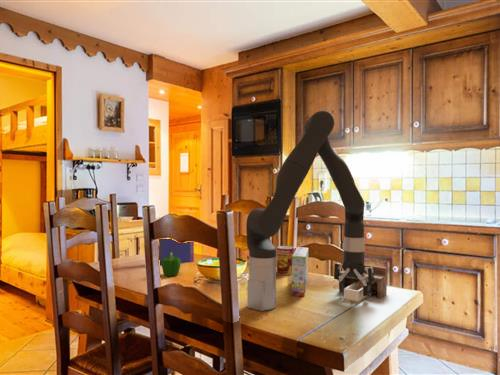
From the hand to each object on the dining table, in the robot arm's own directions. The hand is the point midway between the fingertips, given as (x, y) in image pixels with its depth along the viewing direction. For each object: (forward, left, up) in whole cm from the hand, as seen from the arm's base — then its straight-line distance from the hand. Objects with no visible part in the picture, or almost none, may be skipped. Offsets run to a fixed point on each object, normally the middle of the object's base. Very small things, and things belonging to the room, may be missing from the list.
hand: (353, 293), depth 139 cm
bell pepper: (-16, +79, -2) cm, 81 cm away
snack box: (0, +22, -2) cm, 22 cm away
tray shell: (+5, 0, -2) cm, 5 cm away
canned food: (+19, +40, -2) cm, 45 cm away
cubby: (+9, 0, -2) cm, 10 cm away
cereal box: (+4, +97, -2) cm, 97 cm away
